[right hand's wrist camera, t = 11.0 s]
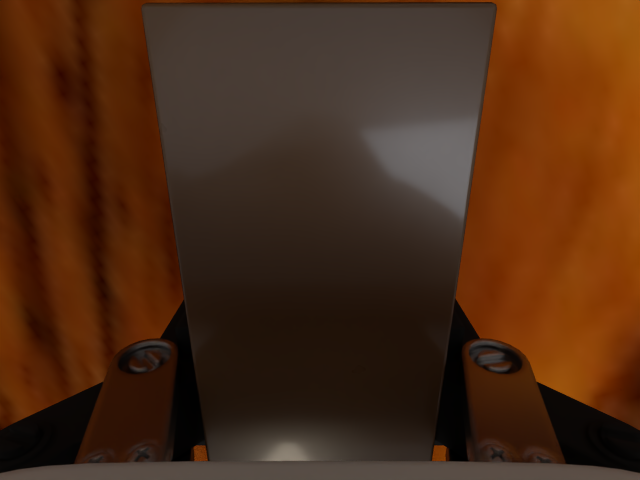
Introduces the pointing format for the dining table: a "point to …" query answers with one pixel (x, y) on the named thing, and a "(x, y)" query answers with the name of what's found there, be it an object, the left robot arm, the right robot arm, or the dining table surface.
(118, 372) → the right robot arm
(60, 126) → the dining table surface
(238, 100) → the beam
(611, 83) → the dining table surface
